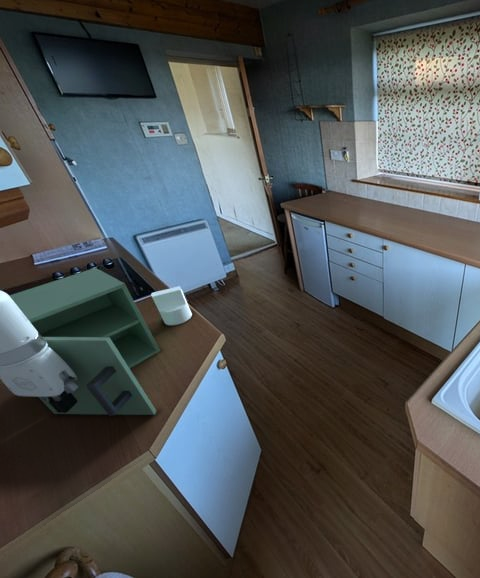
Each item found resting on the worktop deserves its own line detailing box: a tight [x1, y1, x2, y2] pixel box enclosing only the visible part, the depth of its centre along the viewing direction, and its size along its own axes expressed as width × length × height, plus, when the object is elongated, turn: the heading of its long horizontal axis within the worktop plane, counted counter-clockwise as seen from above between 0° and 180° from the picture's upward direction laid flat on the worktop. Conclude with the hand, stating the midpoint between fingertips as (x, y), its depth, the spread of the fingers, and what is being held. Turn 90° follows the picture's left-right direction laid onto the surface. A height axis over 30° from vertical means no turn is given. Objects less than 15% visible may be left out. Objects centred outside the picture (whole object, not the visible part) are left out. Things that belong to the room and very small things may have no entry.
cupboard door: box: [38, 337, 157, 417], centre depth 67 cm, size 7×26×26 cm, turn 90°
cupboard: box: [9, 267, 161, 370], centre depth 83 cm, size 18×26×26 cm
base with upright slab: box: [150, 285, 193, 326], centre depth 108 cm, size 9×9×12 cm
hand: (68, 407), depth 67 cm, fingers closed
